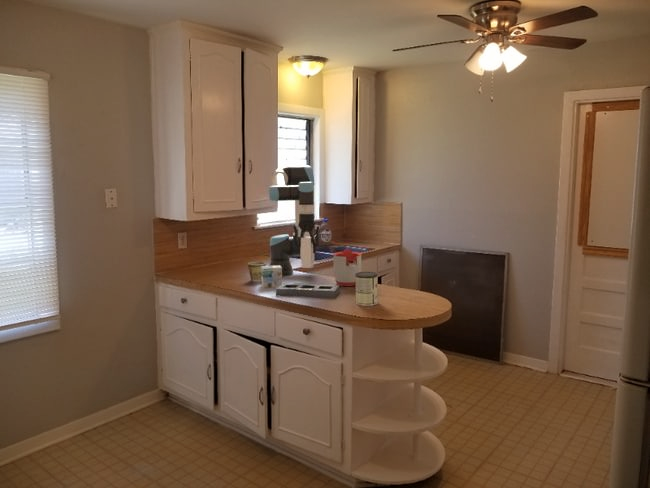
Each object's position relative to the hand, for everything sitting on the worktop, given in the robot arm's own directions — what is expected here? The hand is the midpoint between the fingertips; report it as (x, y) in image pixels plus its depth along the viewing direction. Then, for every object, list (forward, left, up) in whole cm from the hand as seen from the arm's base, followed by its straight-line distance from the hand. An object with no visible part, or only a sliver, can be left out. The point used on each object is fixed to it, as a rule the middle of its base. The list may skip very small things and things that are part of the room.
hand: (307, 259), depth 275 cm
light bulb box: (-14, -24, -18) cm, 33 cm away
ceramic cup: (-28, -37, -18) cm, 50 cm away
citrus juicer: (-24, +16, -18) cm, 34 cm away
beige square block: (0, 0, -4) cm, 4 cm away
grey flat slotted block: (0, 0, -18) cm, 18 cm away
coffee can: (+14, +32, -18) cm, 39 cm away
